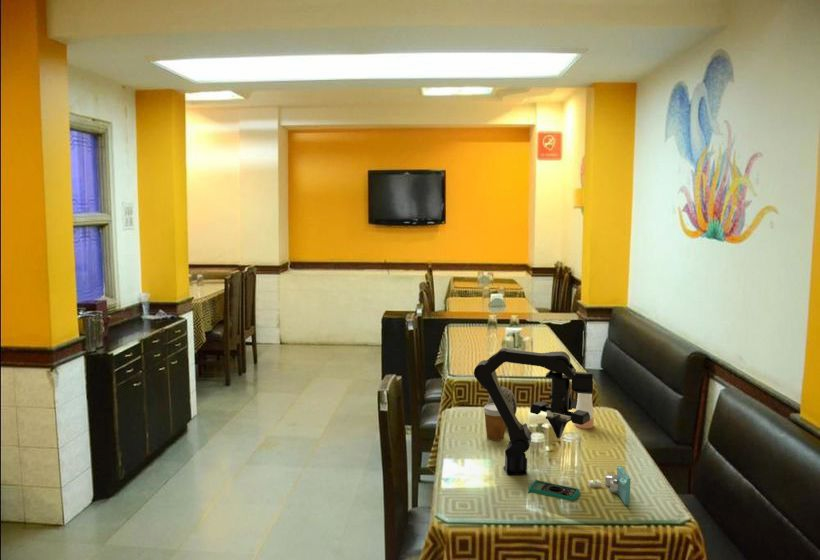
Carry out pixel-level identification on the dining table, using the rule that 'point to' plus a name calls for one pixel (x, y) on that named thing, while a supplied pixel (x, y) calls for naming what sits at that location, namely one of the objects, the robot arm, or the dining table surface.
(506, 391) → the decorative egg
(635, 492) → the dining table surface
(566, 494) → the digital multimeter
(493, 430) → the disposable coffee cup
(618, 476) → the light blue tilted panel
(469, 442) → the dining table surface
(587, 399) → the pepper shaker
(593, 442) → the dining table surface
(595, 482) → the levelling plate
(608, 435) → the dining table surface
